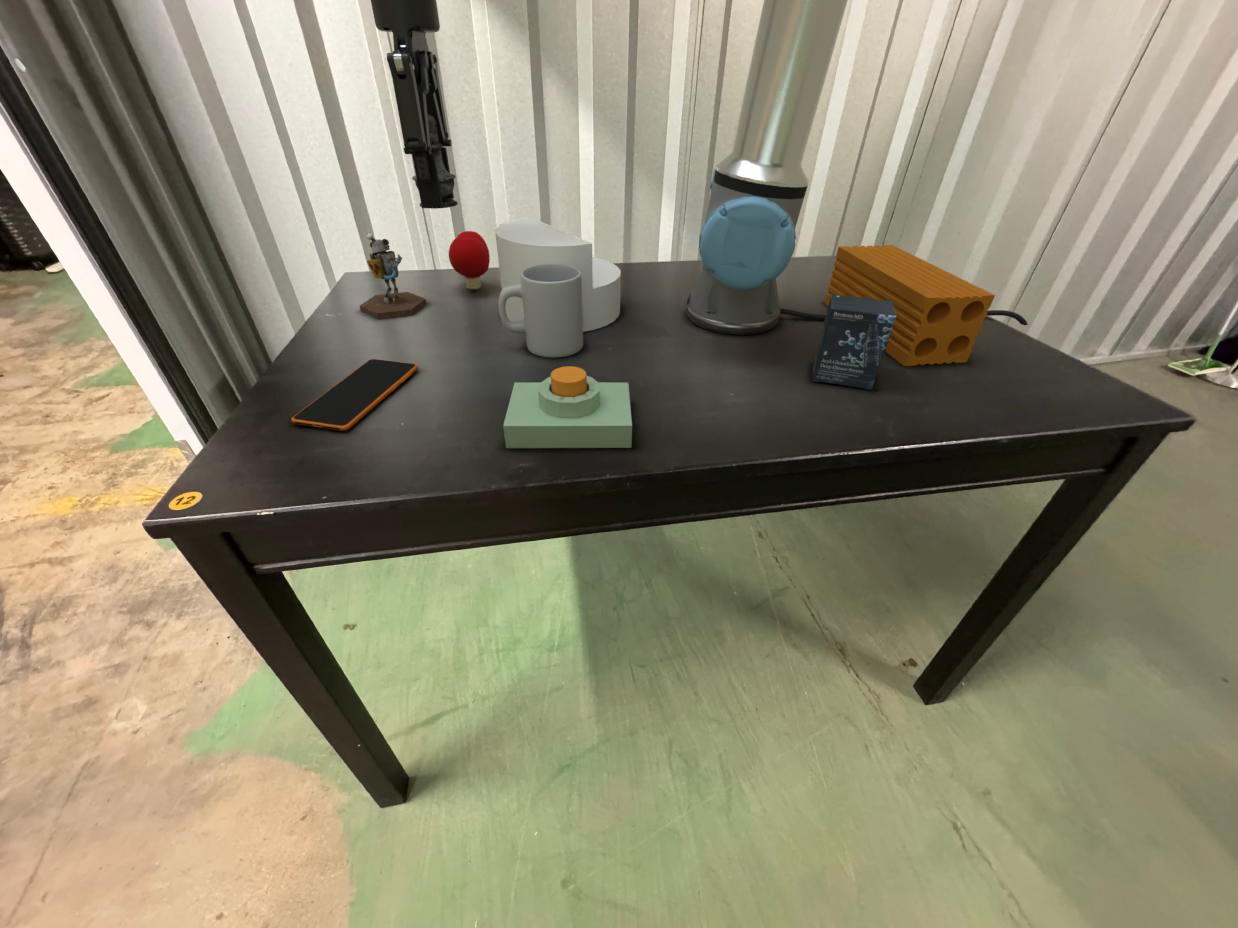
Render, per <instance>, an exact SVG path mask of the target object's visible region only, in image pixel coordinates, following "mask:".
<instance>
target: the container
mask: <svg viewBox="0 0 1238 928" xmlns="http://www.w3.org/2000/svg"><path fill="white" fill-rule="evenodd" d="M494 233H495V243H496V253H497V260H498V269H499V279H500V286H501V291H502V290H503V289H504V288H506V287H508V286H512V285H517V284H521V273H522V272H523V271H524V270H525V269H527V268H530V267H533V266H537V265H545V264H560V265H567V266H571V267H574V268H577V269H578V270H579V271H580V272H581V285H582V322H583V333H584V332H590V331H595V330H597V329H600V328H604V327H606V326H608V325H610V324H613V323H614V322H615V321H616V320H617V319H618V318H619V316H620V313H621V280H622V279H621V278H622V276H621V273H622V271H621V269H620V268H619V266H617V265H616V264H614V263H612V262H611V261H608V260H605V259H602V258H598V257H594V256H593V243H592V242H590V241H587V240H585V239H583V238H580V237H578V236H576V235H573V234H571V233H569V232H566V231H564V230H562V229H559V228H558V227H556V226H555V227H554V226H553V225H550V224H548V223H545V222H543V221H541V220H539V219H537V218H534V217H532V216H526V217H520V218H515V219H511V220H508V221H505V222H503V223H501V224H499V225H497V227H495V229H494ZM505 310H506V315H507V317H508V319H509V320H510V321H512V322H519V321H522V320H523V319H524V306H523V299H522V298H520V297H510V298H508V299H507V301H506V304H505Z"/></svg>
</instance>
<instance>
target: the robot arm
mask: <svg viewBox="0 0 1238 928" xmlns="http://www.w3.org/2000/svg"><path fill="white" fill-rule="evenodd" d="M848 1H849V0H763V4H762V7H761V8H762V9H761V13H760V17H759V22H758V27H757V31H756V36H755V40H754V46H753V50H752V56H751V60H750V65H749V68H748V73H747V79H746V83H745V88H744V92H743V96H742V101H741V106H740V111H739V114H738V115H739V116H738V119H737V125H736V129H735V135H734V139H733V143H732V147H731V151H730V153H729V154H728V155H727V156H726V157H725V158H724V159H722V160H721V161H720V162H718V163H717V164H716V165H715V168H714V170H713V172H712V178H711V181H710V182H709V183H710V184H709V190H710V195H709V198H708V203H707V209H706V214H705V217H704V218H705V219H704V223H703V226H702V227H701V229H700V234H699V238H698V248H699V255H700V258H701V261H702V270H701V273H700V274H699V277H698V280H697V282H696V283H695V286H694V289H693V292H691V293H690V294H689V296H688V298H687V299H686V300H687V301H686V306H687V314H686V315H687V318H688V319H689V321H690V322H692V324H694V325H696V326H698V327H699V328H703V329H705V330H707V331H711V332H716V333H720V334H727V335H738V336H739V335H742V336H743V335H744V336H745V335H756V334H762V333H765V332H768V331H771V330H772V329H774V328H776V326H777V325H778V323H779V319H780V314H781V315H786V316H793V317H797V318H801V319H802V318H803V319H809V320H817V321H825V318H826V314H816V313H809V312H804V311H803V312H802V311H797V310H793V309H787V308H780V301H779V292H778V286H777V285H778V284H777V278H778V277H780V276H781V275H782V273H783V272H784V271H785V270H786V269H787V267H788V265H789V264H790V261H791V260H792V257H793V254H794V252H795V249H796V239H797V233H796V227H797V224H798V220H799V218H800V213H801V210H802V208H803V207H802V206H803V204H804V200H805V197H806V194H807V189H808V187H809V183H810V180H809V179H808V177H807V174H806V173H805V171H804V169H803V165H802V163H803V159H804V156H805V151H806V148H807V146H808V141H809V139H810V134H811V131H812V128H813V123H814V120H815V118H816V113H817V109H818V107H819V103H820V99H821V97H822V92H823V88H824V85H825V82H826V78H827V75H828V71H829V67H830V64H831V60H832V57H833V55H834V50H835V46H836V43H837V40H838V37H839V34H840V33H839V32H840V29H841V25H842V23H843V19H844V16H845V13H846V8H847V5H848ZM370 4H371V10H372V15H373V20H374V26H375V27H376V29H377V30H379V31H380V32H385V33H392V40H393V41H392V42H393V51H392V52H387V53H386V61H387V65H388V68H389V71H390V74H391V79H392V84H393V89H394V94H395V102H396V107H397V112H398V118H399V124H400V129H401V130H400V131H401V134H402V141H403V153H404V154H405V155H411V156H412V161H413V167H414V172H415V176H416V178H417V183H418V188H419V190H418V193H419V199H420V203H421V204H422V207H421V208H422V209H431V208H437V209H444V208H443V202H442V196H441V190H440V185H439V179H438V173H437V167H436V161H435V155H434V154H431V145H430V135H429V125H428V115H427V114H430V115H431V116H433V117H434V119H435V121H436V127H437V133H438V139H439V143H440V144H442V147H441V154H442V160H443V164H444V166H445V169H446V171H447V172H449V173H450V174H451V170H450V164H449V157H448V149H447V147H452V139H449V135H450V134H449V132H448V125H447V119H446V114H445V113H446V112H445V108H444V101H443V95H442V89H441V82H440V77H439V68H438V57H437V56H436V54H433V52H432V51H431V50H429V49H430V48H429V45H428V41H427V38H426V33H429V34H431V33H438V32H439V31H440V29H441V24H440V23H441V22H440V18H439V17H440V16H439V10H438V4H437V0H370ZM418 188H417V189H418ZM446 198H450V199H453V200H454V198H455V194H454V190H453V191H452V193H451V194H450V195H448V196H446ZM988 316H989V317H990V316H991V317H992V316H1001V317H1003V316H1004V317H1009V318H1012V319H1014V320H1016V321H1017V322H1018V323H1019V324H1020V325H1022V326H1028V325H1029V324H1028V321H1027V320H1026V319H1025V317H1023V316H1022V315H1021V314H1019V313H1017V312H1015V311H1011V310H1004V309H1003V310H1001V309H991V310H987V316H986V317H988Z"/></svg>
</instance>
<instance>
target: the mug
mask: <svg viewBox="0 0 1238 928" xmlns="http://www.w3.org/2000/svg"><path fill="white" fill-rule="evenodd" d="M510 297H520V298H522V299H523V306H524V319H523V320H522V321H519V322H512V321H510V320H509V319H508V317H507V315H506V310H505V304H506V301H507V299H508V298H510ZM498 313H499V318H500V321H501V324H502V326H503V328H504V329H505V330H506V331H508V332H511V333H514V334H515V333H516V334H517V333H518V334H525V340H526V341H525V342H526V347H527V350H528V351H529V352H530V353H531V354H533V355H535V356H538V357H541V358H549V359H551V358H552V359H555V358H556V359H557V358H565V357H566V358H567V357H570V356H573V355H575V354H577V353H579V352H580V351H581V350H582V349H583V347H584V332H583V322H582V285H581V272H580V271H579V270H578V269H577V268H574V267H571V266H567V265H560V264H545V265H537V266H533V267H530V268H527V269H525V270H524V271H523V272H522V273H521V284H517V285H512V286H508V287H506V288H504V289H503V290H502V289H501V291H500V293H499V296H498Z"/></svg>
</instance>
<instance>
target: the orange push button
mask: <svg viewBox="0 0 1238 928" xmlns="http://www.w3.org/2000/svg"><path fill="white" fill-rule="evenodd" d="M587 376H588V374H587V372H586V370H584V369H583V368H582V367H578V366H571V365H569V366H568V365H567V366H566V365H565V366H561V367H557V368H554V369H553V370H552V371H551V373H550V377H551V387H552V393H553V394H554V395H557V396H561V397H576V396H580V395H583V394H585V393H586V391H587Z"/></svg>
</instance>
